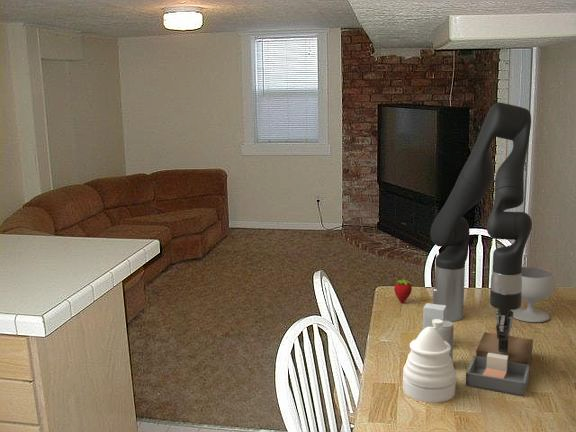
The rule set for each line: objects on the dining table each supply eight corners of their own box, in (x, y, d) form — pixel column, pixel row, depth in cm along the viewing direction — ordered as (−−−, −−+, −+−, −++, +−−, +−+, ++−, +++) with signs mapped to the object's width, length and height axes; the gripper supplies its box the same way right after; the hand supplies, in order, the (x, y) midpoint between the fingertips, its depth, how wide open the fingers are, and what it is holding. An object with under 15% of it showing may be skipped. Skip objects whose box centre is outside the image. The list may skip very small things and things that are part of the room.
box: (465, 385, 157) (466, 373, 157) (473, 367, 167) (473, 355, 166) (524, 396, 151) (525, 383, 150) (528, 377, 161) (529, 364, 160)
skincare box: (446, 343, 182) (447, 305, 180) (443, 349, 179) (444, 310, 176) (425, 340, 185) (426, 302, 182) (422, 346, 181) (423, 307, 179)
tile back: (487, 370, 164) (485, 374, 162) (488, 352, 163) (486, 356, 161) (507, 373, 162) (506, 377, 160) (508, 355, 161) (507, 359, 159)
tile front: (486, 367, 160) (486, 376, 161) (481, 375, 156) (481, 384, 157) (506, 371, 158) (506, 380, 158) (502, 379, 154) (502, 389, 154)
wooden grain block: (475, 367, 167) (476, 350, 166) (483, 348, 178) (484, 332, 177) (527, 376, 161) (528, 358, 160) (532, 356, 173) (533, 339, 172)
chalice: (498, 316, 202) (500, 272, 199) (521, 305, 211) (523, 263, 208) (539, 328, 192) (542, 281, 189) (561, 316, 201) (564, 272, 197)
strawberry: (412, 300, 218) (413, 273, 216) (410, 307, 211) (410, 279, 209) (395, 299, 220) (396, 272, 218) (392, 306, 213) (392, 278, 211)
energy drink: (429, 361, 171) (430, 320, 169) (448, 359, 172) (449, 319, 169) (435, 369, 166) (436, 327, 164) (455, 368, 167) (456, 326, 164)
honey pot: (437, 374, 164) (439, 309, 160) (465, 396, 152) (468, 327, 148) (393, 382, 160) (394, 316, 156) (419, 406, 148) (421, 336, 144)
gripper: (494, 279, 166) (491, 339, 170) (486, 294, 155) (484, 359, 158) (524, 282, 163) (520, 344, 167) (518, 298, 152) (515, 364, 155)
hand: (503, 351), depth 163 cm, fingers closed
